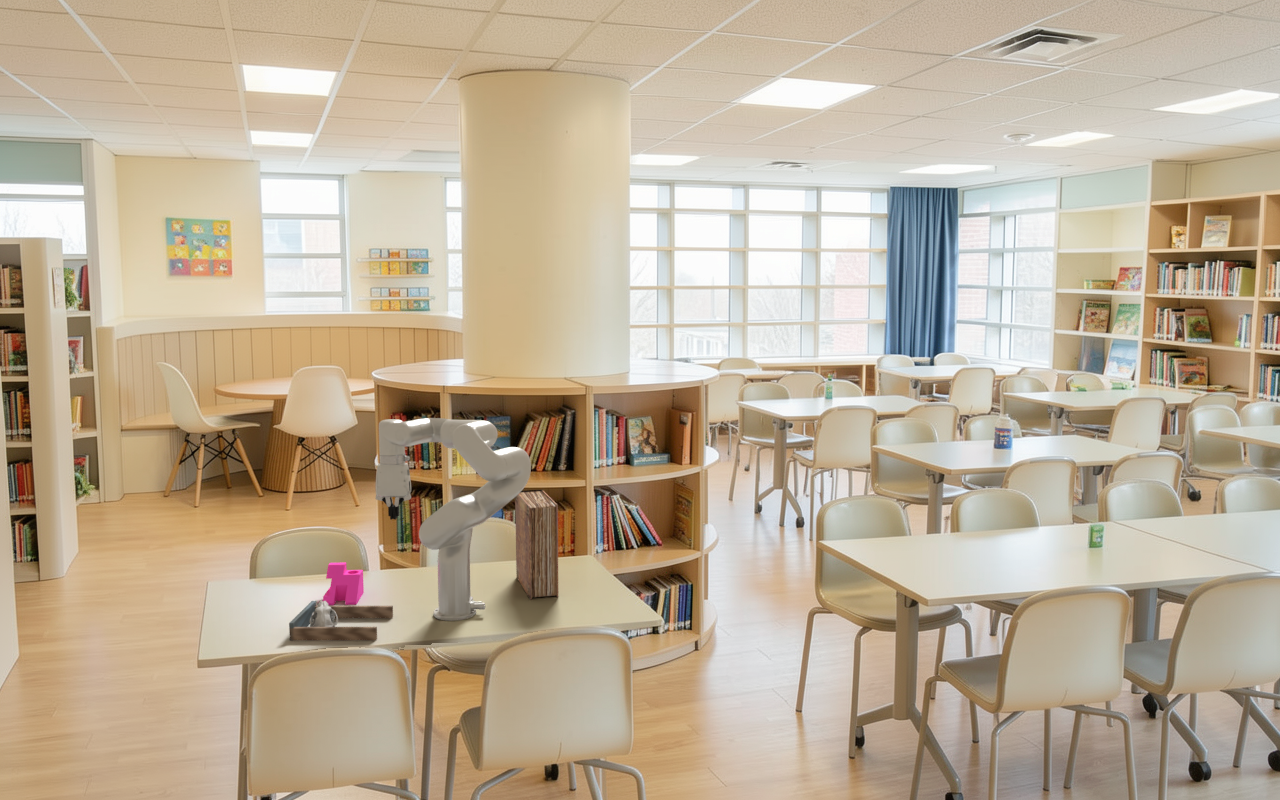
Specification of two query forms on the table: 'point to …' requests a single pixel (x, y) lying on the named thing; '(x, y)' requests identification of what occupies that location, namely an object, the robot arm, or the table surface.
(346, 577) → the bracket
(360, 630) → the bay
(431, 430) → the robot arm
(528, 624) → the table surface
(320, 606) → the skull
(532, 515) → the book
